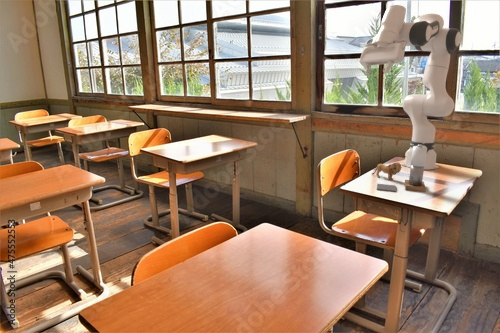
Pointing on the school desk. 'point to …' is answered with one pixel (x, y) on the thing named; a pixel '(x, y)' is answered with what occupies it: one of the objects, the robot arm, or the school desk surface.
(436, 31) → the robot arm
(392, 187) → the coaster
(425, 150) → the white canister
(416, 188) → the caddy
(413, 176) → the flask
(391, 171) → the lion figurine
